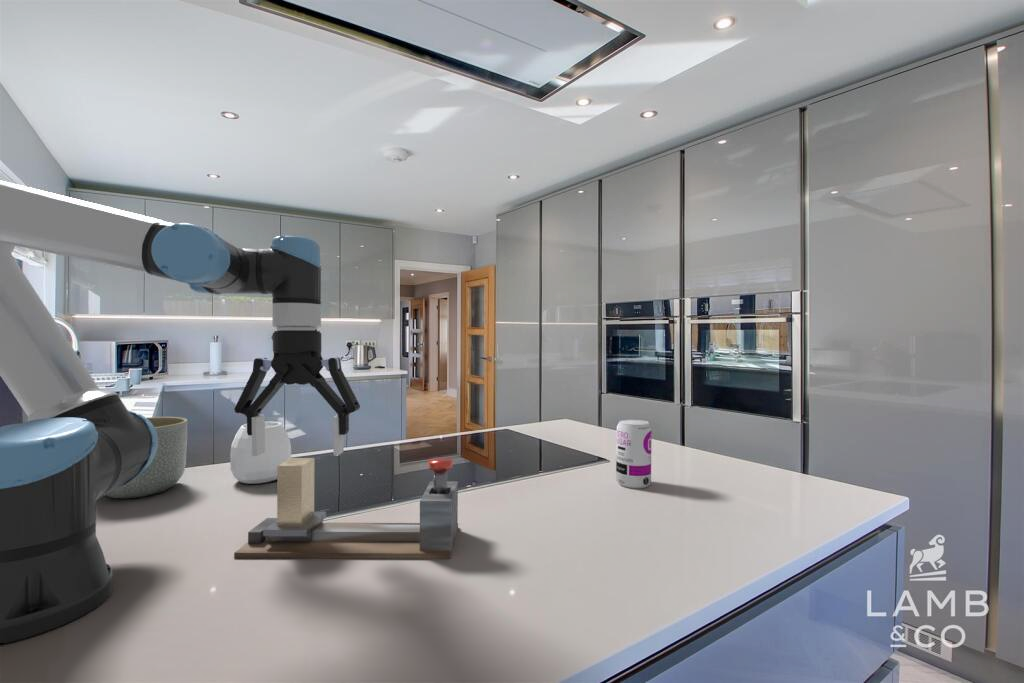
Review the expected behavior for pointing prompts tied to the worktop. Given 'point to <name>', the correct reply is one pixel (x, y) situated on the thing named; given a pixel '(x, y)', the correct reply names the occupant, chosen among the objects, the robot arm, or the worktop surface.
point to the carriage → (295, 503)
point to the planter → (160, 460)
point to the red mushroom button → (440, 473)
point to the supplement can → (633, 453)
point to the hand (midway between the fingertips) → (298, 454)
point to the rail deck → (342, 548)
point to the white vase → (265, 463)
